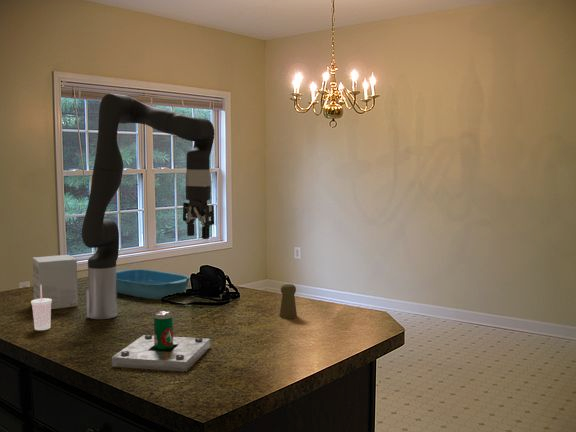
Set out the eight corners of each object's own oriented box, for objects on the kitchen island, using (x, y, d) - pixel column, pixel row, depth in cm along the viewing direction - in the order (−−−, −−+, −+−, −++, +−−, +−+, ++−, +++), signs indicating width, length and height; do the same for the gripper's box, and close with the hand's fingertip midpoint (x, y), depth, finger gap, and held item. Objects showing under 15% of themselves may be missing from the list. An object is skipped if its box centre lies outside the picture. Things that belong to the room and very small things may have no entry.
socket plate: (112, 366, 153) (111, 354, 152) (143, 343, 172) (143, 332, 172) (186, 371, 149) (185, 359, 149) (210, 347, 169) (209, 336, 169)
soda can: (155, 353, 163) (155, 310, 162) (174, 353, 164) (173, 310, 163) (153, 359, 158) (152, 315, 157) (172, 359, 159) (171, 315, 158)
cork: (299, 314, 205) (299, 283, 204) (293, 319, 200) (293, 286, 199) (282, 313, 207) (283, 282, 206) (276, 317, 202) (277, 285, 201)
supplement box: (70, 299, 228) (69, 254, 226) (78, 306, 216) (77, 258, 215) (33, 303, 220) (31, 257, 219) (40, 311, 209) (38, 262, 208)
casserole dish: (200, 293, 240) (200, 275, 239) (161, 304, 221) (161, 285, 220) (135, 282, 259) (135, 266, 259) (94, 292, 240) (94, 275, 240)
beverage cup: (48, 324, 192) (46, 281, 191) (56, 328, 188) (54, 284, 186) (29, 328, 188) (27, 284, 186) (36, 332, 183) (34, 287, 182)
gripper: (175, 183, 183) (175, 235, 184) (200, 185, 172) (199, 241, 174) (196, 183, 188) (196, 234, 189) (221, 185, 177) (221, 239, 178)
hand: (198, 237), depth 181 cm, fingers open, 8 cm apart
